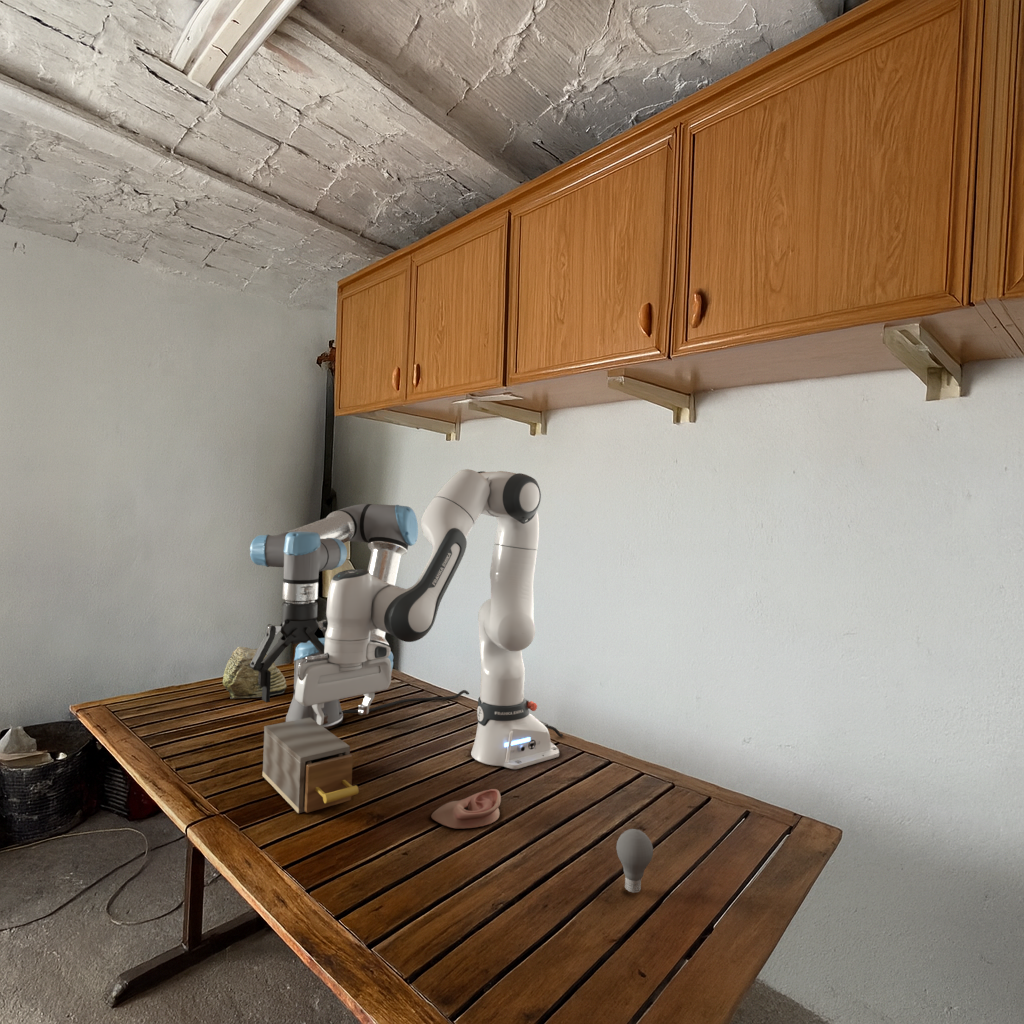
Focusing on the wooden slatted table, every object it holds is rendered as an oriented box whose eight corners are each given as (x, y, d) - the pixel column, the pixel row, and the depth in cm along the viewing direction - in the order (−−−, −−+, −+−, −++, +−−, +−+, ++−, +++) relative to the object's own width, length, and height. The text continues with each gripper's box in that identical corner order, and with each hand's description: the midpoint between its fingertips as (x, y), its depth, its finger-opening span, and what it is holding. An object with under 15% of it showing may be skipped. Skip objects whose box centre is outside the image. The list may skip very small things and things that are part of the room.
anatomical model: (426, 804, 124) (444, 779, 135) (425, 824, 124) (443, 798, 135) (492, 814, 121) (505, 787, 132) (491, 834, 121) (504, 806, 133)
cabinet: (348, 799, 133) (350, 746, 133) (298, 813, 126) (300, 757, 126) (308, 764, 149) (310, 717, 149) (262, 775, 142) (264, 726, 142)
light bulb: (610, 879, 108) (613, 822, 108) (644, 879, 109) (647, 822, 109) (619, 902, 102) (622, 840, 102) (655, 901, 103) (658, 840, 103)
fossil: (218, 695, 195) (220, 647, 195) (278, 685, 208) (279, 640, 207) (228, 703, 189) (230, 653, 188) (289, 692, 201) (290, 645, 201)
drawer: (364, 811, 126) (365, 765, 126) (318, 825, 120) (320, 777, 120) (312, 766, 146) (314, 727, 146) (271, 776, 140) (273, 735, 140)
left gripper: (248, 607, 131) (244, 710, 131) (359, 599, 147) (355, 690, 147) (236, 602, 136) (233, 700, 137) (344, 595, 152) (341, 682, 153)
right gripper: (307, 661, 118) (303, 735, 118) (397, 647, 133) (393, 712, 133) (290, 654, 122) (287, 725, 122) (379, 641, 137) (376, 705, 137)
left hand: (296, 695), depth 142 cm, fingers open, 13 cm apart
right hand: (343, 718), depth 128 cm, fingers open, 8 cm apart
